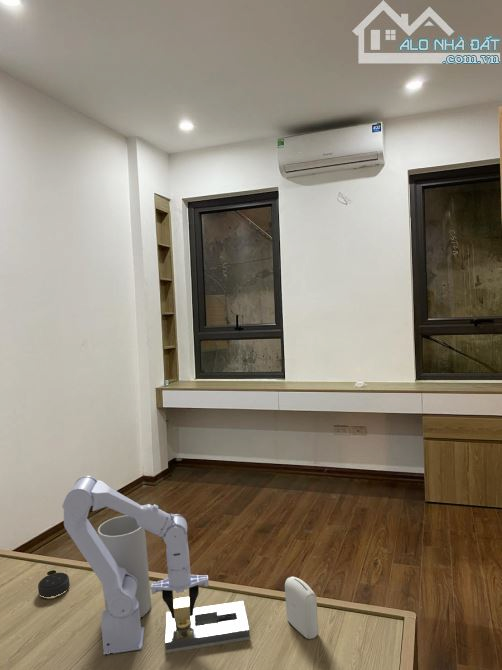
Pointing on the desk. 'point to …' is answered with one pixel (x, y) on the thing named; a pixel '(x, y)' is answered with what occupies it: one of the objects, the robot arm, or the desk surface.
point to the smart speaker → (53, 584)
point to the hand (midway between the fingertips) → (182, 614)
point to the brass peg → (182, 612)
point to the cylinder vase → (129, 554)
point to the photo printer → (301, 607)
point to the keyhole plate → (208, 627)
